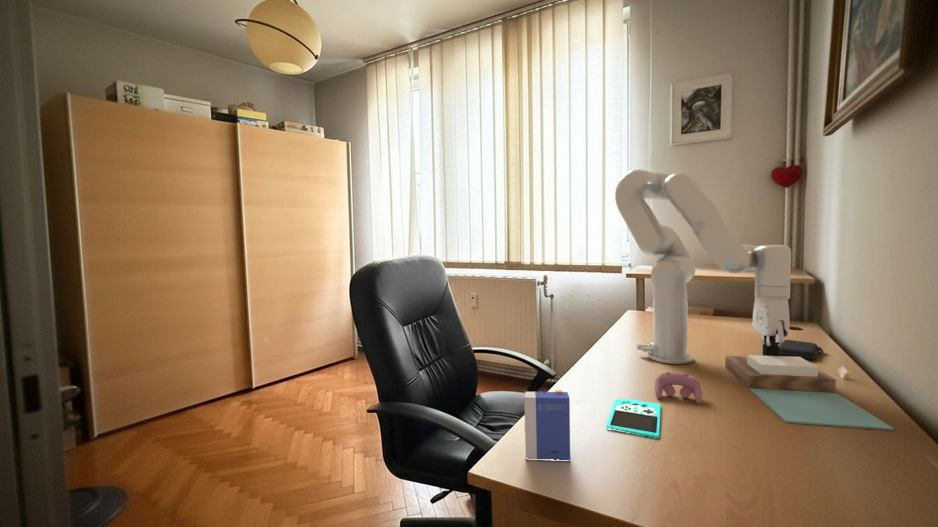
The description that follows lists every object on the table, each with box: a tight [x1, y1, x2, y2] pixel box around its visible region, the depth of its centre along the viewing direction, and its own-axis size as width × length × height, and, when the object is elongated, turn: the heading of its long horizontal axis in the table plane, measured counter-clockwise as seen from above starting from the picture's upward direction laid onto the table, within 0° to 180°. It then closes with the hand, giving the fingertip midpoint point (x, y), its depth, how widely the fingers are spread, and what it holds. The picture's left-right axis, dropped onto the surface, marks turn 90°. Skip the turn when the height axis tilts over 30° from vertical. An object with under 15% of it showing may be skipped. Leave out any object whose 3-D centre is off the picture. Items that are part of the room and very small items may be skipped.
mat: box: [749, 388, 895, 431], centre depth 90 cm, size 18×18×1 cm
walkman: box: [523, 389, 571, 461], centre depth 73 cm, size 8×3×12 cm, turn 84°
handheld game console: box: [605, 398, 662, 439], centre depth 88 cm, size 10×16×1 cm, turn 154°
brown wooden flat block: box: [724, 355, 837, 393], centre depth 107 cm, size 18×16×4 cm
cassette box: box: [746, 354, 819, 377], centre depth 104 cm, size 12×8×2 cm, turn 77°
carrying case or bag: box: [779, 339, 824, 362], centre depth 127 cm, size 11×3×15 cm
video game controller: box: [654, 371, 703, 405], centre depth 98 cm, size 10×5×7 cm, turn 66°
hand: (770, 359), depth 109 cm, fingers closed
